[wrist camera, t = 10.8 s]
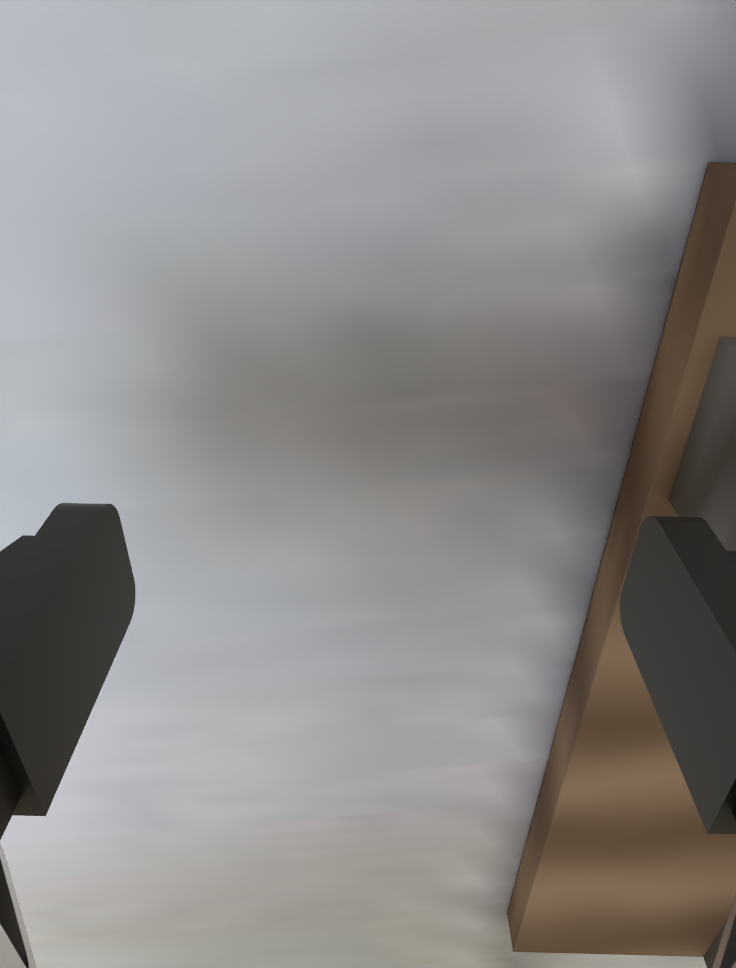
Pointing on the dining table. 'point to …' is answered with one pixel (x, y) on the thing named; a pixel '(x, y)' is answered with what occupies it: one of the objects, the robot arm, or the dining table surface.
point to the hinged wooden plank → (615, 675)
